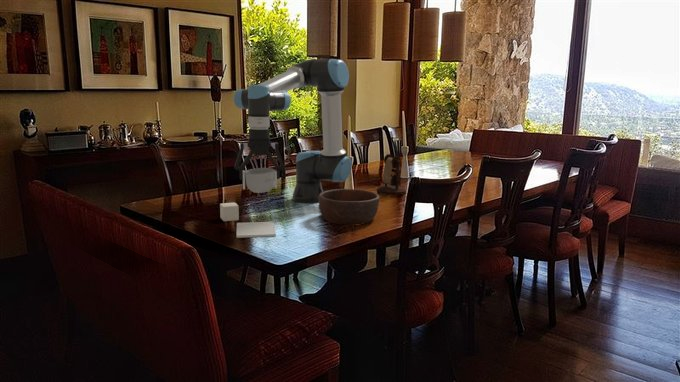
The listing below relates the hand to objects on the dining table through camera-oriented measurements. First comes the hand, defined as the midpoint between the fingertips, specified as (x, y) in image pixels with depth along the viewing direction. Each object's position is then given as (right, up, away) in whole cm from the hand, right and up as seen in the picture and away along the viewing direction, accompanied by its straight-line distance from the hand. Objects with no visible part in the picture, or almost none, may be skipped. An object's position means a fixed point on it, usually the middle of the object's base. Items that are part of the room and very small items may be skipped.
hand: (259, 188), depth 190 cm
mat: (-2, -16, +3) cm, 16 cm away
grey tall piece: (+55, -3, +70) cm, 89 cm away
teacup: (+1, -1, 0) cm, 1 cm away
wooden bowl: (+33, -13, +22) cm, 42 cm away
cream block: (-15, -12, +19) cm, 27 cm away
